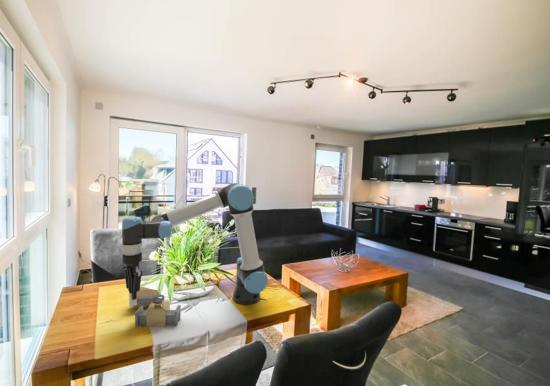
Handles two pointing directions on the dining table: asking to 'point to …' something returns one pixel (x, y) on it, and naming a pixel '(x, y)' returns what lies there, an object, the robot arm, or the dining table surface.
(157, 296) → the lever
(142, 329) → the dining table surface
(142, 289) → the low-poly potato
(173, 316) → the valve
